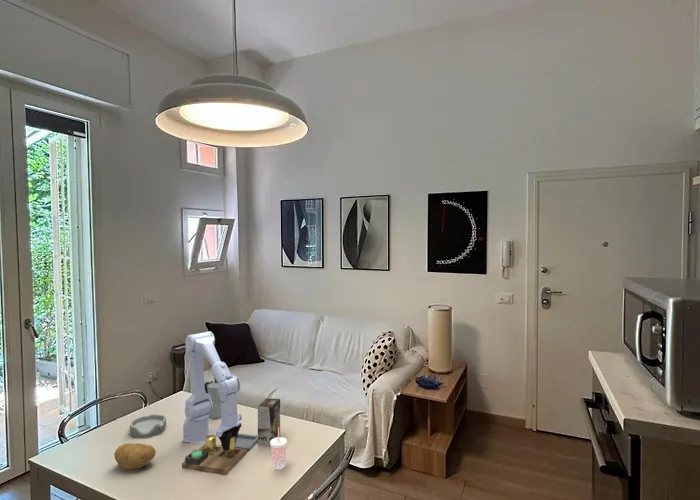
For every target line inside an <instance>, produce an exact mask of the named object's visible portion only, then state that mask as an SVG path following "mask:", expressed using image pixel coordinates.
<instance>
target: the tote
mask: <svg viewBox="0 0 700 500" xmlns="http://www.w3.org/2000/svg"><path fill="white" fill-rule="evenodd" d="M257 444H258V435H254V434H247V433H239V432H238V436H237V440H236V444H235V448H241V449H247V453H249V451H251V450H252V448H254V447H255V445H257ZM220 446H222V444H221V443H220Z"/></svg>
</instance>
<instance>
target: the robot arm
mask: <svg viewBox="0 0 700 500" xmlns="http://www.w3.org/2000/svg"><path fill="white" fill-rule="evenodd" d="M215 341H216V338H215V335H214V333H213V332H212V331H210V330H209V331H204V332H200V333H198V332H197V333H193V334H188V335H187V336H186V338H185V341H184V344H185V353H186V354H185V355H188V358H189V360H188V361H189V371H190V383H191V384H190V385H191V387H190V388H191V395H190V396H189V397H188V398H187V399H186V400H185V408H184V414H185V415H184V416H185V417H186V418H185V419H184V421H183V425H182V434H183V438H182V441H181V442H182V443H188V444H189V443H190V444H191V443H194V444H201V445H202V444H205V437H206V436H209V435H214V434H213V433H209V432H210V427H209V426H210V425H209V421H210V420H209V419H210V418H209V416H210V413H212V411H213V403H212V400H211V396H210V395H209V394H207V393H206V392H205V375H204V374H205V373H204V361H203V355H204V356H205V358H206V359H207V361H208V362H209V363H210V365H211V369H210V370H211V373H212V375H213V378H214V377H215V379H216V381H217V383H218V392H219V398H220V400H221V418H220V420H221V421H220V423H219V426H218V428H217V429H216V430H215V436H216V438H218V439H219V441H220V445H221V444H222V447H223V450H226V451H228V450H229V448H230V439H231V436H232V435H235V444H236V440H237V436H238V433H239V432H240V429H241V428H242V423H241V422H240V421H242V418H243V417H242V416H243V415H242V414H239V413H238V392H239V391H240V389H241V383H240V380H239V377H237V376H235V374H232V373H231V371H230V369H229V367H228V365H227V364H226V362H224V361H221V359H220V356H219V354H218V352H217V349H216V347H215V343H216V342H215Z"/></svg>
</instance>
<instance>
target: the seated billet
mask: <svg viewBox="0 0 700 500" xmlns="http://www.w3.org/2000/svg"><path fill="white" fill-rule="evenodd" d="M204 444H205V451H208V455H212V456H213V455H214V454H215V453H216V452H217V450H216V445H217V436H216V434H213V435H212V434H210V435H209V436H206V437H205V442H204Z"/></svg>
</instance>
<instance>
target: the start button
mask: <svg viewBox="0 0 700 500" xmlns="http://www.w3.org/2000/svg"><path fill="white" fill-rule="evenodd" d="M196 450H197V451H194V450H193V451H194V452H193V451H191V452H192V454H191V458H200V457H201V456H202V451H200V450H198V449H196Z"/></svg>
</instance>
